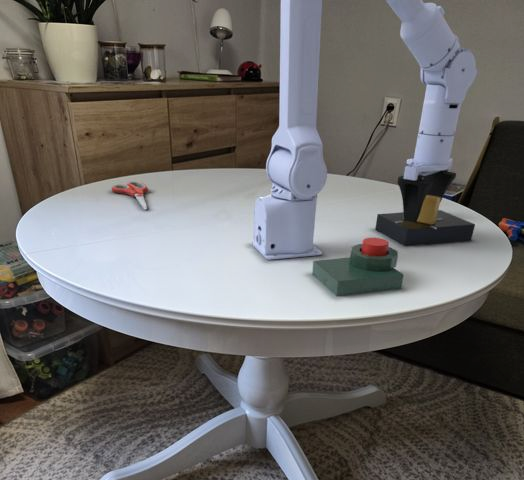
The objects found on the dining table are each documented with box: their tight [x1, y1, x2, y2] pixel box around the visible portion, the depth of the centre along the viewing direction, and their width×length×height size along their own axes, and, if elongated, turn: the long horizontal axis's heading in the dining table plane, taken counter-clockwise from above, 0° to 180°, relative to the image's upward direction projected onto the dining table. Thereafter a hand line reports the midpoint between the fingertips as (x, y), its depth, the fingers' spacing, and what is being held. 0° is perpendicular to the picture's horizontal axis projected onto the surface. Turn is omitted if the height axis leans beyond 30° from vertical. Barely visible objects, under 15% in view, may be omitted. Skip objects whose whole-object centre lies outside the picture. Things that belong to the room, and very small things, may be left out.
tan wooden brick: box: [417, 195, 442, 225], centre depth 85 cm, size 6×2×5 cm, turn 49°
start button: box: [361, 237, 390, 256], centre depth 68 cm, size 4×4×2 cm
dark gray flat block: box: [374, 209, 476, 247], centre depth 88 cm, size 14×11×3 cm
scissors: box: [111, 181, 149, 211], centre depth 107 cm, size 8×21×2 cm, turn 35°
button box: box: [311, 243, 405, 297], centre depth 68 cm, size 11×8×4 cm
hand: (419, 216), depth 86 cm, fingers open, 7 cm apart
